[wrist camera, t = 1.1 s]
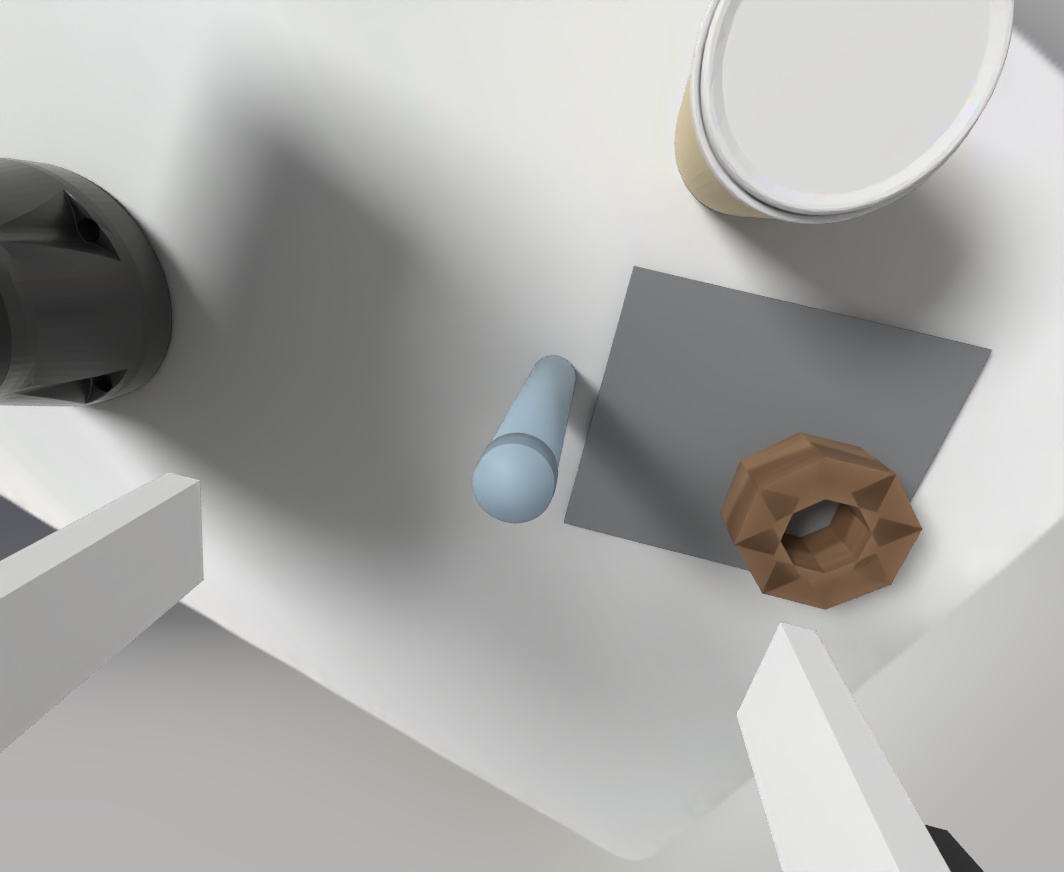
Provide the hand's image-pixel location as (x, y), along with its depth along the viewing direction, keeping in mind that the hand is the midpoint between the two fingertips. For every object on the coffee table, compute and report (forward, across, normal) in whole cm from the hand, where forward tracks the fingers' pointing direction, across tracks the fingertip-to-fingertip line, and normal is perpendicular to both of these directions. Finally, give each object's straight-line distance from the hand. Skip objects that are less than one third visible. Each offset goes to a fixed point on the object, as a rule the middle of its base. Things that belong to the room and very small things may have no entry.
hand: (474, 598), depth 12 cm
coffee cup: (+23, +7, +14) cm, 28 cm away
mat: (+22, +13, -2) cm, 26 cm away
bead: (+22, +17, -5) cm, 28 cm away
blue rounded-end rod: (+22, 0, 0) cm, 23 cm away
